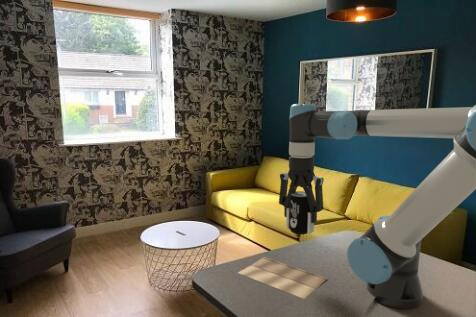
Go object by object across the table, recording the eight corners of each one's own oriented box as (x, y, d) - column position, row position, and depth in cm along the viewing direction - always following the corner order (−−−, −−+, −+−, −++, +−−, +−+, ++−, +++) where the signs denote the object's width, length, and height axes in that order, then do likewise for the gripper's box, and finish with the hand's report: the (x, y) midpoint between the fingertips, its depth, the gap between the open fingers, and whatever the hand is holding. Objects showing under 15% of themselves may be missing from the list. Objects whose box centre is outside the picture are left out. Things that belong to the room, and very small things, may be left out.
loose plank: (326, 282, 112) (326, 278, 111) (316, 292, 106) (316, 288, 106) (263, 260, 127) (263, 256, 126) (251, 268, 121) (251, 264, 121)
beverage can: (310, 235, 107) (312, 196, 105) (288, 234, 108) (289, 195, 106) (310, 228, 113) (311, 191, 112) (289, 227, 115) (290, 190, 113)
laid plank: (316, 292, 106) (316, 288, 106) (304, 302, 101) (304, 299, 100) (251, 268, 121) (251, 264, 121) (237, 276, 116) (237, 272, 115)
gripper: (337, 157, 104) (335, 233, 108) (280, 152, 116) (279, 220, 120) (327, 160, 98) (324, 240, 102) (267, 154, 110) (266, 226, 114)
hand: (299, 229), depth 111 cm, fingers closed on beverage can, 7 cm apart
